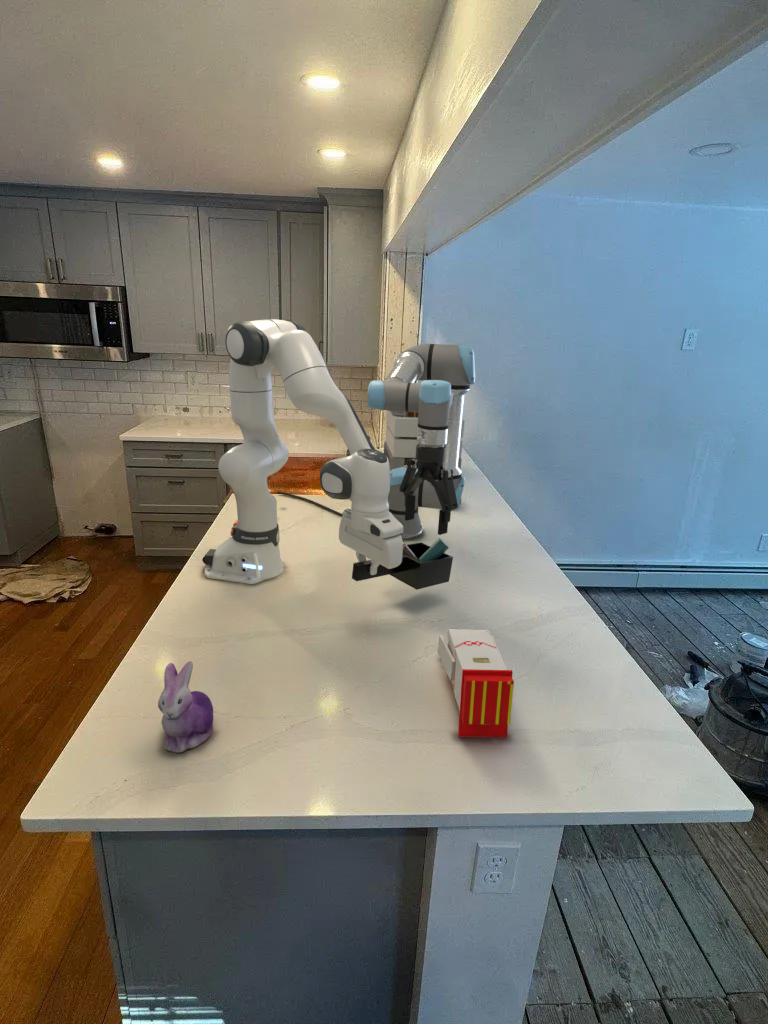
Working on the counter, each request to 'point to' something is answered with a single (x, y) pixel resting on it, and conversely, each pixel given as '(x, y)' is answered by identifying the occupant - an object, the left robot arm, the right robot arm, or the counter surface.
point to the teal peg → (434, 551)
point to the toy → (478, 682)
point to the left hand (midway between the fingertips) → (367, 571)
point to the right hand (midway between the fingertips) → (425, 526)
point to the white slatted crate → (405, 438)
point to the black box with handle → (411, 569)
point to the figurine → (184, 711)
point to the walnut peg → (409, 552)
